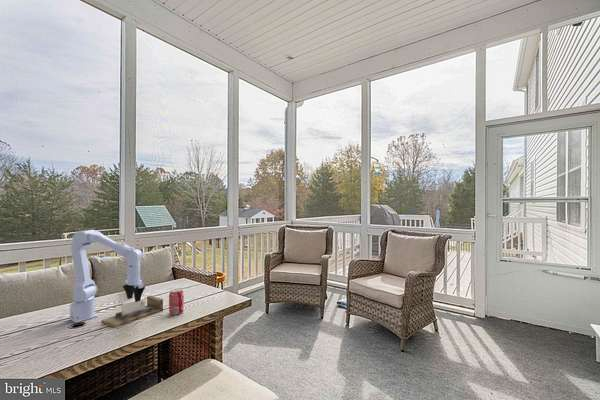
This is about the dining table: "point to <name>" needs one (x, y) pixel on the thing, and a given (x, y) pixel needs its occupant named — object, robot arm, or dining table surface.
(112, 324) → the board
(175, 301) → the soda can
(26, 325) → the dining table surface
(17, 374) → the dining table surface
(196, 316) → the dining table surface
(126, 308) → the door panel
